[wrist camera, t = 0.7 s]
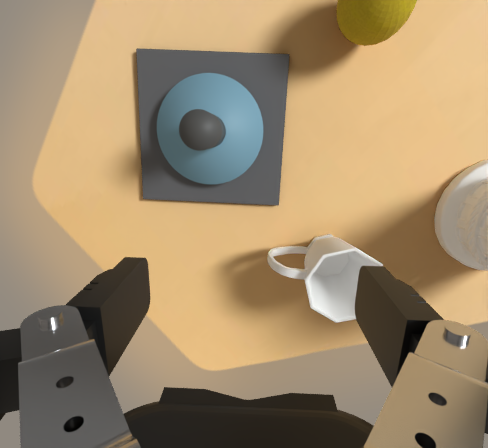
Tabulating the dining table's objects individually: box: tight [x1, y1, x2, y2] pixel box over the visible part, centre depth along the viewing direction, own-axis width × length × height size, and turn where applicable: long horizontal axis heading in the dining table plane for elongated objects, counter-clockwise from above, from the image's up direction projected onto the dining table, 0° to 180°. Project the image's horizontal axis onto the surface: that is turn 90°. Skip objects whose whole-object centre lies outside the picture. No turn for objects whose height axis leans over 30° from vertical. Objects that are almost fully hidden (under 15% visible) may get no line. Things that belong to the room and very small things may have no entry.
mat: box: [136, 49, 289, 205], centre depth 31 cm, size 14×14×1 cm
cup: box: [267, 234, 383, 323], centre depth 30 cm, size 7×10×8 cm
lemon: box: [336, 0, 417, 46], centre depth 25 cm, size 6×6×8 cm
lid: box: [157, 73, 263, 184], centre depth 27 cm, size 10×10×7 cm
